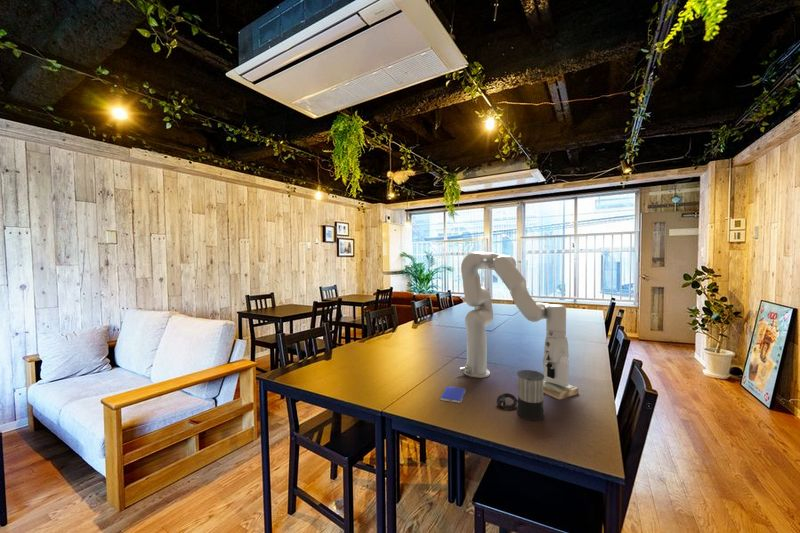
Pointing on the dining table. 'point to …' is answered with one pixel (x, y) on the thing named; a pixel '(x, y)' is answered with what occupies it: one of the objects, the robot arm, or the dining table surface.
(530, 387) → the milk frother
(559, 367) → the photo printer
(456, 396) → the hard drive
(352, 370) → the dining table surface
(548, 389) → the pedestal
